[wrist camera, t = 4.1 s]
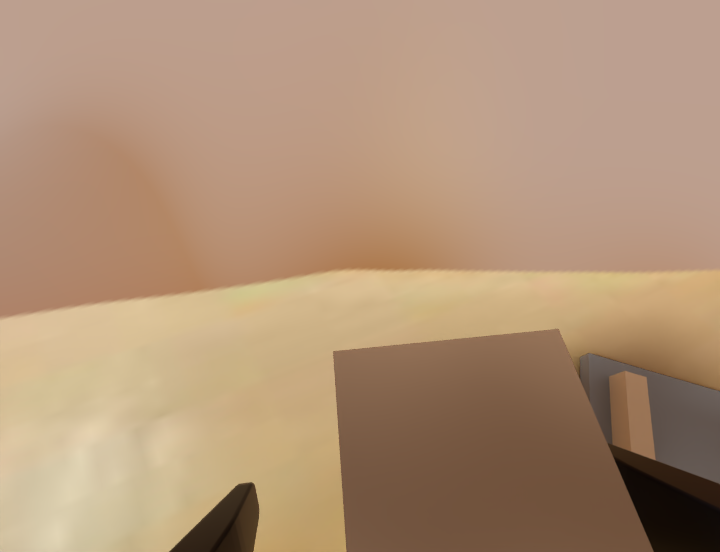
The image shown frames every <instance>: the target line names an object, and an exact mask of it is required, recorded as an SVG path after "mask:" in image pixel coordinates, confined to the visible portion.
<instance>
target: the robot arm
mask: <svg viewBox="0 0 720 552" xmlns="http://www.w3.org/2000/svg"><path fill="white" fill-rule="evenodd" d="M607 444H608V446H609V448H610V451H611V453H612V455H613V458H614V460H615V462H616V465H617V467H618V469H619V472H620V474H621V476H622V479H623V481H624V483H625V486H626V488H627V490H628V493H629V495H630V498H631V500H632V502H633V505H634V507H635V509H636V512H637V514H638V516H639V519H640V521H641V523H642V526H643V528H644V530H645V533H646V535H647V537H648V540H649V542H650V544H651V547H652V549H653V551H654V552H720V484H719V483H717V482H714V481H711V480H708V479H706V478H703V477H700V476H697V475H695V474H692V473H689V472H686V471H684V470H681V469H678V468H675V467H673V466H670V465H667V464H664V463H662V462H659V461H656V460H653V459H651V458H648V457H645V456H642V455H640V454H637V453H634V452H631V451H629V450H626V449H623V448H620V447H618V446H615V445H612V444H609V443H607ZM258 520H259V504H258V499H257V494H256V489H255V485H254V483H252V482H250V483H243V484H238V485H237V486H236V487H235V488H234V489H233V490H232V491H231V492H230V493H229V494H228V495H227V496H226V497H225V498H224V499H223V500H221V501H220V502H219V503H218V504H217V505H216V506H215V507H214V508H213V509H212V510H211V511H210V512H209V513H208V514H207V515H206V516H205V517H204V518H203V519H202V520H201V521H200V522H199V523H198V524H197V525H196V526H195V527H194V528H193V529H192V530H191V531H190V532H189V533H188V534H187V535H186V536H185V537H184V538H183V539H182V540H181V541H180V542H179V543H178V544H177V545H176V546H175V547H174V548H173V549H172V550H170V551H169V552H253V550H254V544H255V538H256V532H257V526H258Z"/></svg>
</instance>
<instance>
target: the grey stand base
mask: <svg viewBox="0 0 720 552" xmlns="http://www.w3.org/2000/svg"><path fill="white" fill-rule="evenodd" d="M580 381H581V383H582V385H583V388H584V390H585V392H586V395H587V397H588V399H589V402H590V404H591V406H592V409H593V411H594V413H595V416H596V418H597V420H598V423H599V425H600V427H601V430H602V432H603V434H604V437H605V439H606V441H607V443H609V444H612V445H615V446H618V447H620V448H623V449H626V450H629V451H631V452H634V453H637V454H640V455H642V456H645V457H648V458H651V459H653V460H656V461H659V462H662V463H664V464H667V465H670V466H673V467H675V468H678V469H681V470H684V471H686V472H689V473H692V474H695V475H697V476H700V477H703V478H706V479H708V480H711V481H714V482H717V483H719V484H720V391H717V390H713V389H710V388H707V387H703V386H700V385H696V384H693V383H689V382H686V381H683V380H679V379H676V378H672V377H669V376H666V375H662V374H659V373H655V372H652V371H648V370H645V369H642V368H638V367H635V366H631V365H628V364H624V363H621V362H618V361H614V360H611V359H607V358H604V357H600V356H597V355H594V354H590V353H588V354H586V355H584V356H582V357H580Z"/></svg>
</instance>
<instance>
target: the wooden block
mask: <svg viewBox="0 0 720 552" xmlns="http://www.w3.org/2000/svg"><path fill="white" fill-rule="evenodd" d="M333 356H334V371H335V385H336V400H337V415H338V430H339V445H340V460H341V475H342V489H343V504H344V519H345V534H346V549H347V552H654V551H653V549H652V547H651V544H650V542H649V540H648V537H647V535H646V533H645V530H644V528H643V526H642V523H641V521H640V519H639V516H638V514H637V512H636V509H635V507H634V505H633V502H632V500H631V498H630V495H629V493H628V490H627V488H626V486H625V483H624V481H623V479H622V476H621V474H620V472H619V469H618V467H617V465H616V462H615V460H614V458H613V455H612V453H611V451H610V448H609V446H608V444H607V441H606V439H605V437H604V434H603V432H602V430H601V427H600V425H599V423H598V420H597V418H596V416H595V413H594V411H593V409H592V406H591V404H590V402H589V399H588V397H587V395H586V392H585V390H584V388H583V385H582V383H581V381H580V378H579V376H578V373H577V371H576V369H575V366H574V364H573V362H572V359H571V357H570V355H569V352H568V350H567V348H566V345H565V343H564V341H563V338H562V336H561V334H560V331H559V329H554V330H544V331H534V332H523V333H513V334H503V335H493V336H483V337H473V338H463V339H453V340H443V341H433V342H423V343H413V344H403V345H393V346H382V347H372V348H362V349H352V350H342V351H333Z"/></svg>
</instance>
